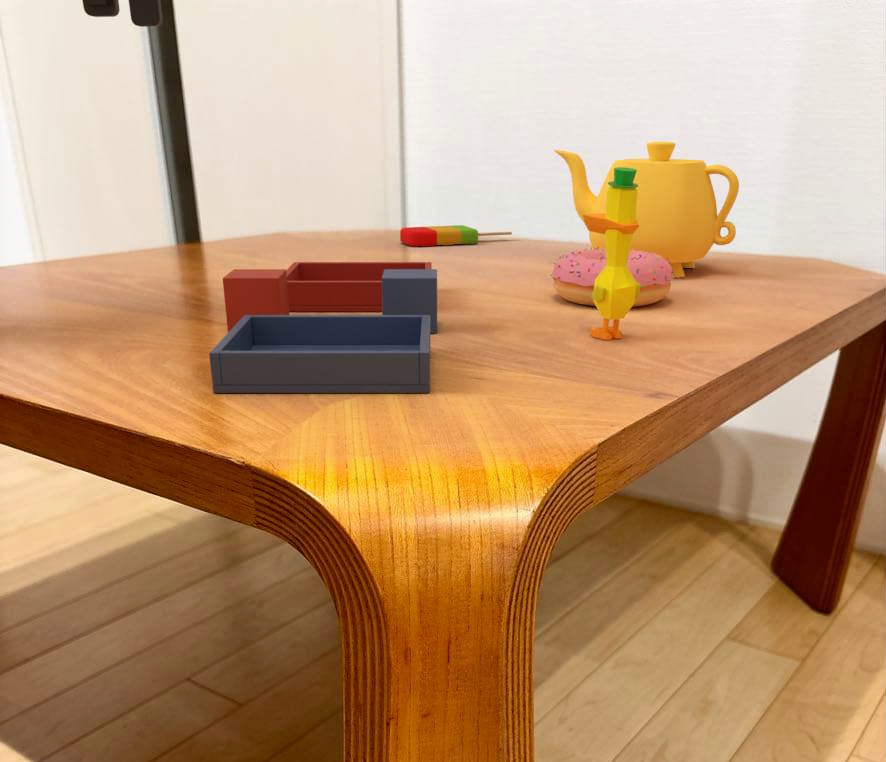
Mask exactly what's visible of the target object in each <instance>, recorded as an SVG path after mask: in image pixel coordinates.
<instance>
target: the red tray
mask: <svg viewBox="0 0 886 762" xmlns="http://www.w3.org/2000/svg"><path fill="white" fill-rule="evenodd" d="M432 264H433V263H432V261H294V262H292V264H291V265H290V266H289V267H288V268H287V269H286V274H287V288H288V303H289V313H290V312H291V313H294V312H296V313H297V312H298V313H299V312H301V313H302V312H307V313H308V312H309V313H310V312H313V313H315V312H316V313H317V312H319V313H320V312H321V313H323V312H337V313H339V312H344V313H346V312H353V313H354V312H355V313H357V312H359V313H360V312H362V313H363V312H366V313H367V312H368V313H369V312H377V313H378V312H381V313H383V312H382V276H383V273H384V270H385V269H432Z"/></svg>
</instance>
